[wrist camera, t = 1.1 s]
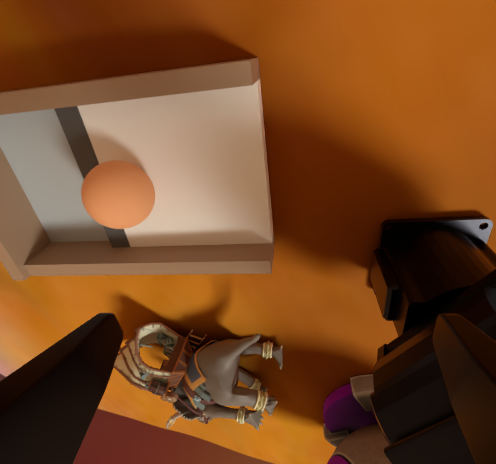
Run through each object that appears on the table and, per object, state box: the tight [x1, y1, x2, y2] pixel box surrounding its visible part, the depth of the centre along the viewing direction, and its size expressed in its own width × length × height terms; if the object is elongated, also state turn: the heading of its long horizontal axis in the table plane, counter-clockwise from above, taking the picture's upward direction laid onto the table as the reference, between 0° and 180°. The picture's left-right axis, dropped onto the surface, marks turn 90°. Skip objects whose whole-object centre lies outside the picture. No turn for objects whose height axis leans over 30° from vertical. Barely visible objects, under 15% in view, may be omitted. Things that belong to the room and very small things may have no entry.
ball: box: [81, 160, 155, 229], centre depth 18 cm, size 4×4×4 cm
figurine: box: [113, 322, 283, 431], centre depth 28 cm, size 20×6×17 cm
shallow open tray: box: [0, 58, 274, 280], centre depth 19 cm, size 19×12×4 cm, turn 97°
